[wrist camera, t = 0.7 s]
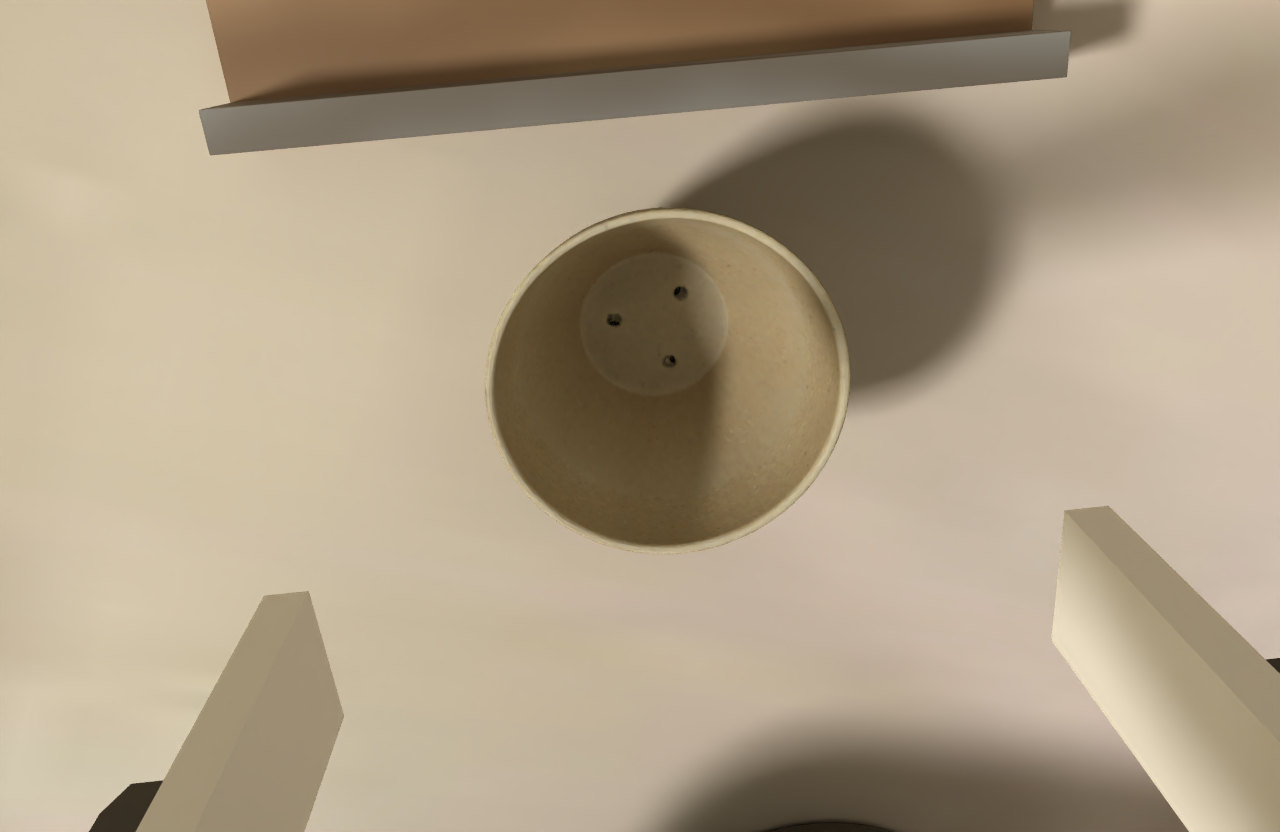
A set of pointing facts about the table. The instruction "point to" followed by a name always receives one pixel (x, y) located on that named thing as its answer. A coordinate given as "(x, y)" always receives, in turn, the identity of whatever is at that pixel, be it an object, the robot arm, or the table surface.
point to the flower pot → (667, 381)
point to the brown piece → (588, 60)
